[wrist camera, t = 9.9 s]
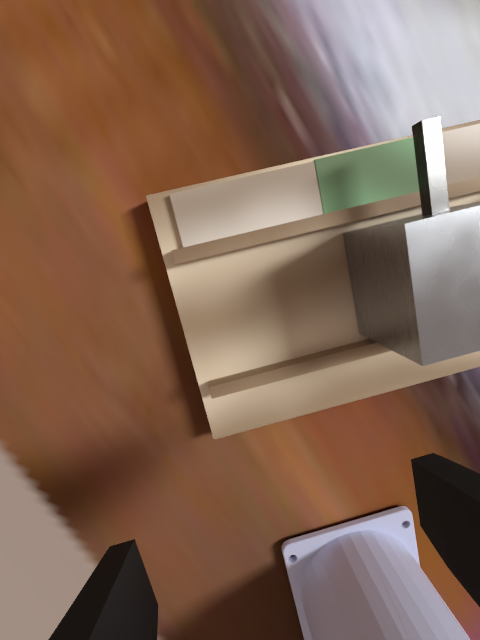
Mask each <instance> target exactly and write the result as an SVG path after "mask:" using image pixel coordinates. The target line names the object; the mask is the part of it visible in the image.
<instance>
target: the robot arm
mask: <svg viewBox="0 0 480 640" xmlns="http://www.w3.org/2000/svg"><path fill="white" fill-rule="evenodd" d="M411 462H412V469H413V476H414V483H415V490H416V497H417V504H418V511H419V518H420V525H421V527H422V529H423V530H424V532H425V533H426V535H427V536H428V538H429V539H430V541H431V543H432V544H433V546H434V547H435V549H436V550H437V552H438V553H439V555H440V556H441V558H442V559H443V561H444V562H445V564H446V565H447V567H448V568H449V569H450V571H451V572H452V573H453V574H454V576H455V577H456V578H457V579H458V581H459V582H460V583H461V584H462V586H463V587H464V588H465V589H466V591H467V592H468V593H469V594H470V596H471V597H472V598H473V599H474V601H475V602H476V603H477V604H478V606H479V607H480V474H479V473H477V472H475V471H472V470H470V469H468V468H466V467H464V466H462V465H459V464H457V463H455V462H453V461H451V460H448V459H446V458H444V457H442V456H439V455H437V454H434V453H432V454H428V455H425V456H421V457H418V458H414V459H411ZM404 521H405V522H404ZM403 522H404V523H403ZM282 553H283V557H284V561H285V565H286V569H287V573H288V577H289V581H290V585H291V589H292V593H293V597H294V601H295V605H296V609H297V613H298V617H299V621H300V625H301V629H302V633H303V637H304V640H471V639H470V638H469V636H468V635H467V634H466V632H465V631H464V629H463V628H462V626H461V625H460V624H459V622H458V621H457V619H456V618H455V616H454V615H453V614H452V612H451V611H450V609H449V608H448V606H447V605H446V603H445V602H444V601H443V599H442V598H441V596H440V595H439V593H438V592H437V591H436V589H435V588H434V586H433V585H432V583H431V582H430V581H429V579H428V578H427V576H426V575H425V573H424V572H423V571H422V569H421V568H420V564H419V557H418V550H417V544H416V537H415V530H414V523H413V516H412V513H411V511H410V510H409V509H408V508H407V507H405V506H400V507H396V508H393V509H390V510H386V511H383V512H380V513H376V514H373V515H370V516H366V517H363V518H359V519H356V520H353V521H349V522H346V523H343V524H339V525H336V526H333V527H329V528H326V529H322V530H319V531H316V532H312V533H309V534H306V535H302V536H299V537H296V538H292V539H289V540H286V541H285V542H284V543H283V544H282ZM291 555H294V556H292V557H290V556H291ZM157 624H158V603H157V600H156V598H155V595H154V592H153V589H152V587H151V584H150V581H149V578H148V575H147V573H146V570H145V567H144V564H143V561H142V559H141V556H140V553H139V550H138V547H137V545H136V542H135V539H134V540H131V541H127V542H124V543H120V544H117V545H113V546H110V547H109V549H108V550H107V552H106V553H105V555H104V556H103V558H102V559H101V561H100V562H99V564H98V565H97V567H96V568H95V570H94V571H93V573H92V575H91V576H90V578H89V579H88V581H87V582H86V584H85V585H84V587H83V588H82V590H81V591H80V593H79V595H78V596H77V598H76V599H75V601H74V602H73V604H72V605H71V607H70V608H69V610H68V612H67V613H66V614H65V616H64V617H63V619H62V620H61V622H60V623H59V625H58V627H57V628H56V629H55V631H54V633H53V634H52V635H51V637H50V638H49V640H157Z"/></svg>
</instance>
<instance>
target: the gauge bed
mask: <svg viewBox="0 0 480 640" xmlns="http://www.w3.org/2000/svg"><path fill="white" fill-rule="evenodd" d="M442 139H443V149H444V159H445V169H446V179H447V189H448V199H449V207H453V206H459V205H464V204H470V203H475V202H480V120H477V121H473V122H469V123H464V124H460V125H455V126H451V127H447V128H442ZM146 198H147V201H148V205H149V209H150V212H151V216H152V219H153V223H154V227H155V230H156V234H157V237H158V241H159V245H160V248H161V252H162V255H163V259H164V263H165V266H166V270H167V273H168V277H169V281H170V284H171V288H172V291H173V295H174V299H175V302H176V306H177V309H178V313H179V317H180V320H181V324H182V327H183V331H184V335H185V338H186V342H187V345H188V349H189V353H190V356H191V360H192V363H193V367H194V371H195V374H196V378H197V381H198V385H199V389H200V392H201V396H202V399H203V403H204V407H205V410H206V414H207V417H208V421H209V424H210V428H211V432H212V435H213V439H218V438H222V437H225V436H229V435H233V434H236V433H240V432H243V431H247V430H251V429H254V428H258V427H262V426H265V425H269V424H273V423H276V422H280V421H283V420H287V419H291V418H294V417H298V416H302V415H305V414H309V413H313V412H316V411H320V410H323V409H327V408H331V407H334V406H338V405H342V404H345V403H349V402H353V401H356V400H360V399H364V398H367V397H371V396H374V395H378V394H382V393H385V392H389V391H393V390H396V389H400V388H404V387H407V386H411V385H414V384H418V383H422V382H425V381H429V380H433V379H436V378H440V377H444V376H447V375H451V374H454V373H458V372H462V371H465V370H469V369H473V368H476V367H480V351H477V352H473V353H470V354H466V355H462V356H459V357H455V358H451V359H447V360H444V361H440V362H436V363H433V364H429V365H425V366H421V365H419V364H417V363H415V362H413V361H411V360H410V359H408V358H406V357H404V356H402V355H400V354H398V353H396V352H394V351H392V350H390V349H388V348H386V347H384V346H382V345H380V344H378V343H376V342H374V341H372V340H370V339H368V338H366V337H364V336H362V335H360V334H359V328H358V322H357V316H356V310H355V304H354V298H353V292H352V286H351V280H350V274H349V268H348V262H347V256H346V250H345V243H344V237H343V233H344V232H348V231H352V230H356V229H360V228H364V227H368V226H373V225H377V224H381V223H385V222H389V221H393V220H397V219H401V218H406V217H410V216H414V215H418V214H422V210H421V201H420V192H419V184H418V175H417V166H416V158H415V149H414V140H413V135H411V136H407V137H403V138H398V139H394V140H389V141H385V142H381V143H376V144H372V145H367V146H363V147H359V148H354V149H350V150H345V151H341V152H336V153H332V154H328V155H323V156H319V157H314V158H310V159H306V160H301V161H297V162H292V163H288V164H284V165H279V166H275V167H270V168H266V169H262V170H257V171H253V172H248V173H244V174H240V175H235V176H231V177H226V178H222V179H218V180H213V181H209V182H204V183H200V184H196V185H191V186H187V187H182V188H178V189H173V190H169V191H165V192H160V193H156V194H151V195H147V196H146Z"/></svg>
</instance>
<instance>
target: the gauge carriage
mask: <svg viewBox="0 0 480 640" xmlns="http://www.w3.org/2000/svg"><path fill="white" fill-rule="evenodd" d="M412 132H413V140H414V149H415V158H416V166H417V175H418V184H419V192H420V201H421V210H422V214H418V215H414V216H410V217H406V218H401V219H397V220H393V221H389V222H385V223H381V224H377V225H373V226H368V227H364V228H360V229H356V230H352V231H348V232H344V233H343V237H344V243H345V250H346V256H347V262H348V268H349V274H350V280H351V286H352V292H353V298H354V304H355V310H356V316H357V322H358V328H359V334H360V335H362V336H364V337H366V338H368V339H370V340H372V341H374V342H376V343H378V344H380V345H382V346H384V347H386V348H388V349H390V350H392V351H394V352H396V353H398V354H400V355H402V356H404V357H406V358H408V359H410V360H411V361H413V362H415V363H417V364H419V365H421V366H425V365H429V364H433V363H436V362H440V361H444V360H447V359H451V358H455V357H459V356H462V355H466V354H470V353H473V352H477V351H480V202H475V203H470V204H464V205H459V206H453V207H449V199H448V189H447V179H446V169H445V159H444V149H443V139H442V128H441V118H440V116H439V117H434V118H430V119H425V120H422V121H420V122H418V123H417V124H415V125H413V126H412Z"/></svg>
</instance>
